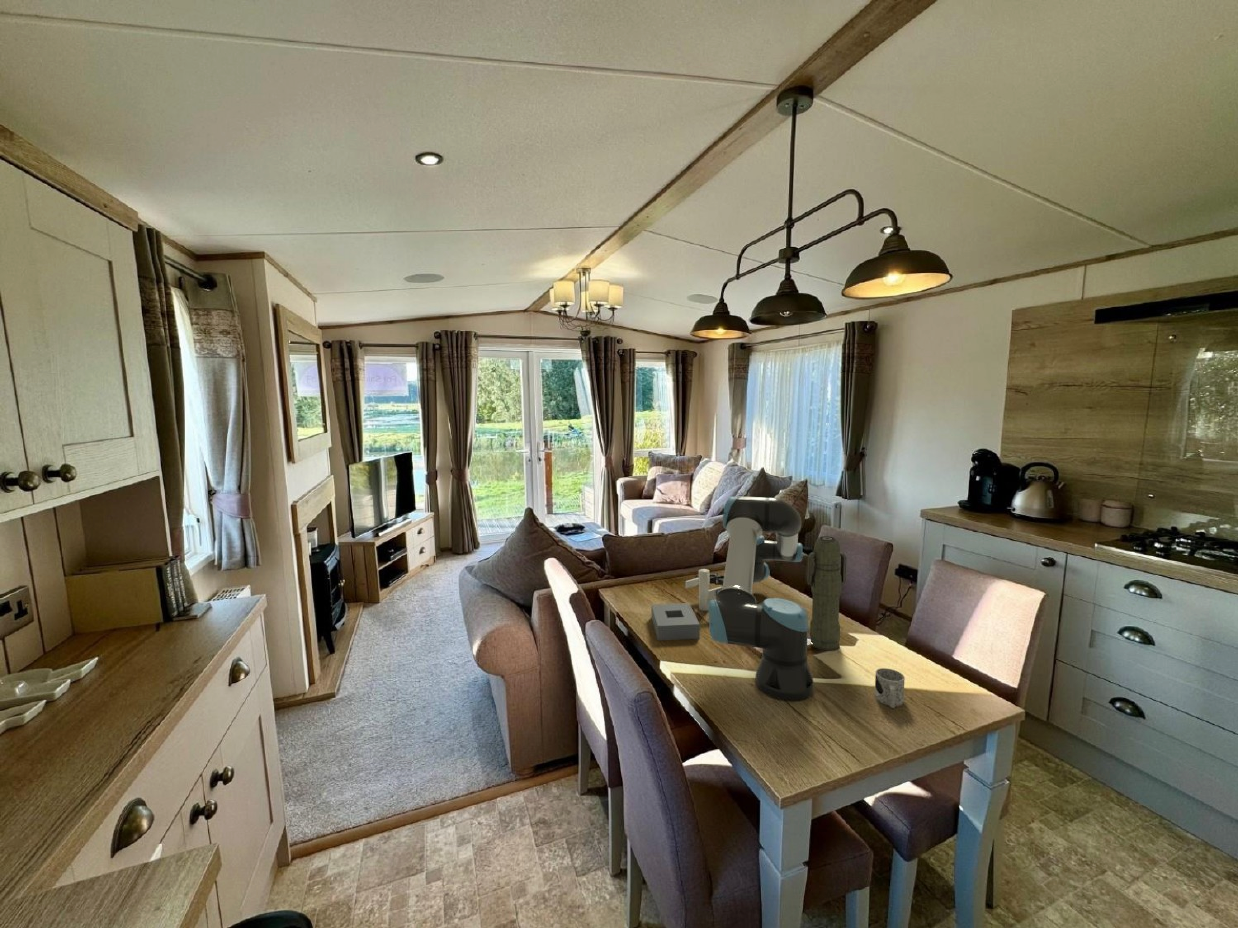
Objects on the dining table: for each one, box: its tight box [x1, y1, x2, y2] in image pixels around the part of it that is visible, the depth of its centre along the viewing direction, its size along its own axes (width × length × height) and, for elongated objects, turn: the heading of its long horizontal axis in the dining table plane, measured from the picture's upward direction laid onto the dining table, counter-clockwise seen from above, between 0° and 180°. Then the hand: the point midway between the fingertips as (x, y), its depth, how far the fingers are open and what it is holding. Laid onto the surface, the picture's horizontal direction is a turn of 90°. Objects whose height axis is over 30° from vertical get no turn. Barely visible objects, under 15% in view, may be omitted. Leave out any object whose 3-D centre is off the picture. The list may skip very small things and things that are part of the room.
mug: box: [874, 667, 905, 709], centre depth 129 cm, size 10×7×7 cm
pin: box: [698, 568, 711, 612], centre depth 190 cm, size 4×4×15 cm
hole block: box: [650, 602, 701, 641], centre depth 175 cm, size 18×14×5 cm
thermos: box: [806, 535, 847, 652], centre depth 159 cm, size 9×12×35 cm
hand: (696, 589), depth 188 cm, fingers open, 12 cm apart
